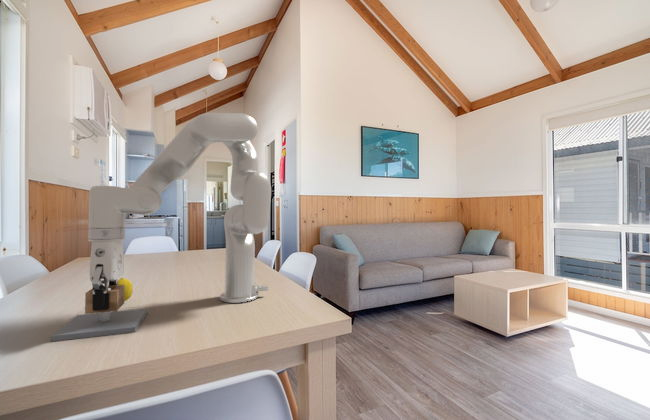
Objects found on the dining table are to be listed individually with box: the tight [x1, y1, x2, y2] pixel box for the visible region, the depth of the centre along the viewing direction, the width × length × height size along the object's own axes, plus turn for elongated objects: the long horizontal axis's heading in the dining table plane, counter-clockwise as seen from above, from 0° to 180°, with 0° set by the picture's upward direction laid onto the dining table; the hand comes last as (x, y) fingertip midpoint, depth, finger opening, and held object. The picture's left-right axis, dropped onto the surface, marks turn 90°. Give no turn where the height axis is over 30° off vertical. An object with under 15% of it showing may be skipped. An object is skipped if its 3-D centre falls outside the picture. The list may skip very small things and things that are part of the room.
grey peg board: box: [50, 288, 148, 342], centre depth 74 cm, size 16×14×9 cm
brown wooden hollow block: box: [84, 285, 125, 314], centre depth 74 cm, size 6×6×5 cm
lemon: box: [118, 277, 134, 303], centre depth 91 cm, size 6×6×8 cm
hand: (105, 304), depth 74 cm, fingers closed on brown wooden hollow block, 6 cm apart
